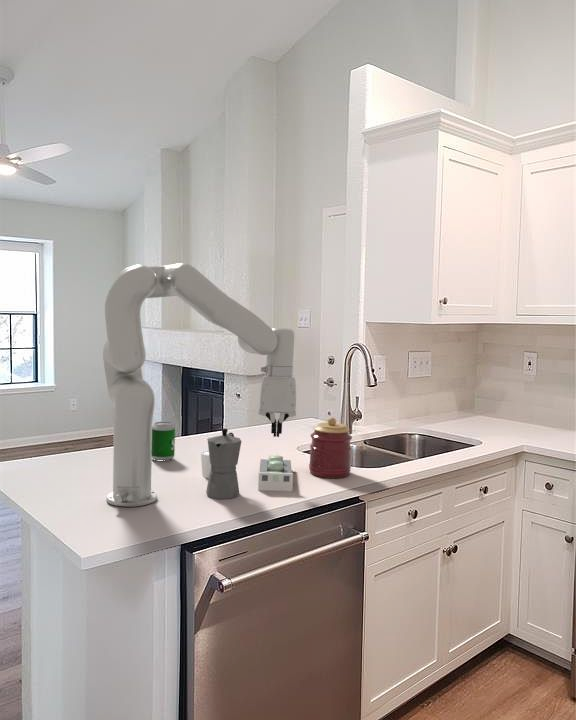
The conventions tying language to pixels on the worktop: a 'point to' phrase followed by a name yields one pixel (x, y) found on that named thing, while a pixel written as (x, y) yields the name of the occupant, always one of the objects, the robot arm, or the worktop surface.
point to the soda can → (163, 441)
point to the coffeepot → (223, 466)
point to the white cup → (205, 464)
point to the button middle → (275, 466)
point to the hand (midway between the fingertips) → (276, 435)
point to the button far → (275, 458)
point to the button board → (275, 477)
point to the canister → (330, 450)
